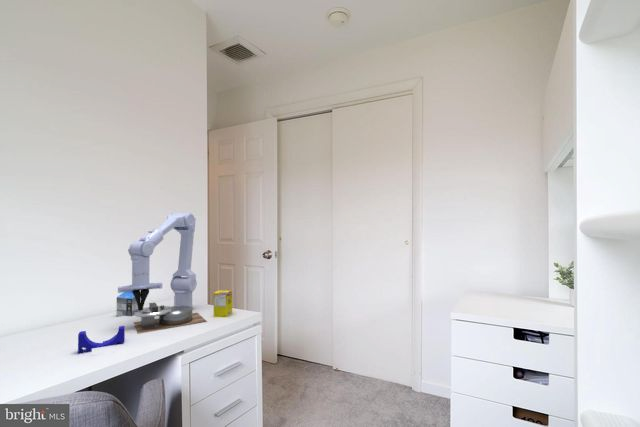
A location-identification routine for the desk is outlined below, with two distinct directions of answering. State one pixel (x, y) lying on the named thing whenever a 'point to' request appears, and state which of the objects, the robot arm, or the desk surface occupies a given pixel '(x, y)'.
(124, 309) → the grey blue carton
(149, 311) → the lid
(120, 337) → the cable clip
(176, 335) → the desk surface
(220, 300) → the supplement box
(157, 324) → the walnut board
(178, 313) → the grey dish and cube
